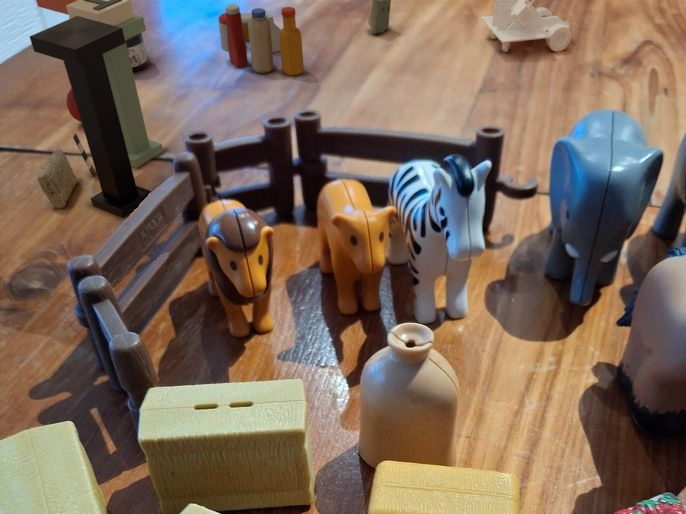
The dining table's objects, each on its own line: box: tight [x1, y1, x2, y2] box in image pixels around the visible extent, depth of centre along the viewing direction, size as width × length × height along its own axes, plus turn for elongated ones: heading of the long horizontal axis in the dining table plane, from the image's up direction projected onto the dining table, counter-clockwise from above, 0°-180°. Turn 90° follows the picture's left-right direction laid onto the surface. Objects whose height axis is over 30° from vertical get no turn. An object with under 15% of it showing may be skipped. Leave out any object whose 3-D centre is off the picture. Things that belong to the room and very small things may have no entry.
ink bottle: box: [126, 32, 149, 73], centre depth 152 cm, size 10×9×12 cm
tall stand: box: [29, 16, 152, 219], centre depth 111 cm, size 9×9×26 cm
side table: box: [103, 14, 164, 169], centre depth 123 cm, size 9×9×22 cm
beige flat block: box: [35, 0, 135, 26], centre depth 115 cm, size 17×7×3 cm, turn 57°
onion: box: [66, 88, 82, 123], centre depth 136 cm, size 6×6×8 cm
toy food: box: [218, 3, 305, 77], centre depth 154 cm, size 27×13×12 cm, turn 26°
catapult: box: [479, 0, 572, 53], centre depth 156 cm, size 18×14×16 cm
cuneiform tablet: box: [37, 133, 96, 210], centre depth 121 cm, size 7×4×12 cm
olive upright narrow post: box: [367, 0, 392, 37], centre depth 164 cm, size 6×5×8 cm
